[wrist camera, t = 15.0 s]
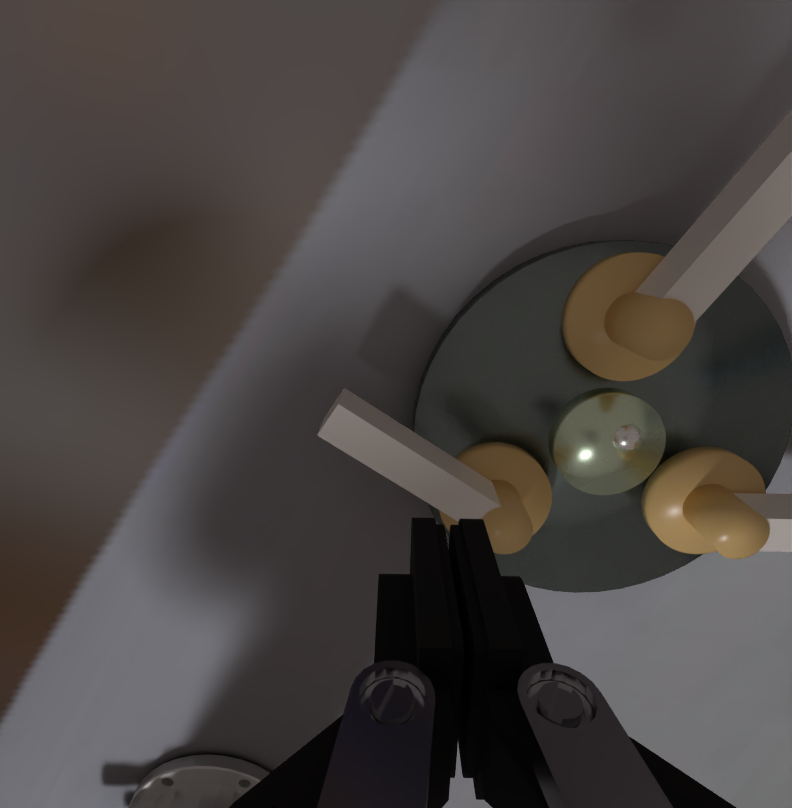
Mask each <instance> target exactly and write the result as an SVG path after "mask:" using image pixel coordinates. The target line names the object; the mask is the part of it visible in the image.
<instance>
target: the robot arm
mask: <svg viewBox="0 0 792 808" xmlns="http://www.w3.org/2000/svg"><path fill="white" fill-rule="evenodd" d="M458 743H459V751H460V759H461V767H462V774H463V777H464V778H473V781H474V788H475V795H476V799H479V800H485V801H486V802H487V803H488V804H489V805H490V806H491V807H493V808H736V807H734V806H733V805H731V804H730V803H728V802H727V801H725V800H724V799H722V798H721V797H719V796H718V795H716V794H715V793H713V792H712V791H710V790H709V789H707V788H706V787H704V786H703V785H701V784H700V783H698V782H697V781H695V780H694V779H692V778H691V777H689V776H688V775H686V774H685V773H683V772H682V771H680V770H679V769H677V768H676V767H674V766H673V765H671V764H670V763H668V762H667V761H665V760H664V759H662V758H661V757H659V756H658V755H656V754H655V753H653V752H652V751H650V750H649V749H647V748H646V747H644V746H643V745H641V744H640V743H638V742H637V741H635V740H634V739H632V738H631V737H629V736H628V735H627V733H626V732H625V730H624V728H623V727H622V725H621V724H620V722H619V720H618V719H617V717H616V716H615V714H614V712H613V711H612V709H611V708H610V706H609V704H608V703H607V701H606V700H605V698H604V696H603V695H602V693H601V692H600V691H599V689H598V688H597V687H596V686H595V684H594V683H593V682H592V681H591V680H589V679H588V678H587V677H586V676H584V675H583V674H582V673H580V672H578V671H576V670H574V669H572V668H570V667H568V666H564V665H560V664H556V663H553V660H552V658H551V655H550V652H549V650H548V647H547V644H546V642H545V639H544V636H543V633H542V631H541V628H540V625H539V623H538V620H537V617H536V615H535V612H534V609H533V607H532V604H531V601H530V599H529V596H528V593H527V591H526V588H525V585H524V583H523V580H522V578H521V577H519V576H501V574H500V571H499V568H498V565H497V561H496V558H495V555H494V552H493V549H492V545H491V542H490V539H489V536H488V533H487V529H486V526H485V523H484V520H483V519H459V522H458V525H450V535H449V551H448V545H447V539H446V533H445V527H444V524H436V521H435V518H412V526H411V557H410V574H379V582H378V601H377V620H376V638H375V657H374V664H373V665H371V666H369V667H367V668H365V669H364V670H363V671H362V672H361V673H360V674H359V675H358V676H357V677H356V678H355V680H354V682H353V684H352V686H351V689H350V692H349V696H348V699H347V703H346V707H345V710H344V714H343V715H342V716H341V717H340V718H338V719H337V720H336V721H335V722H333V723H332V724H331V725H330V726H328V727H327V728H326V729H325V730H323V731H322V732H321V733H320V734H318V735H317V736H316V737H315V738H313V739H312V740H311V741H310V742H308V743H307V744H306V745H305V746H303V747H302V748H301V749H300V750H298V751H297V752H296V753H295V754H293V755H292V756H291V757H290V758H288V759H287V760H286V761H285V762H283V763H282V764H281V765H280V766H278V767H277V768H276V769H275V770H274V771H272V772H271V773H270V772H268V771H266V770H264V769H263V768H261V767H259V766H257V765H255V764H252V763H250V762H247V761H244V760H242V759H237V758H233V757H228V756H222V755H210V754H207V755H192V756H186V757H181V758H177V759H174V760H172V761H169V762H166V763H164V764H162V765H160V766H159V767H157V768H155V769H154V770H152V771H151V772H150V773H149V774H148V775H147V776H146V777H144V778H143V779H142V781H141V783H140V784H139V786H138V787H137V789H136V791H135V794H134V796H133V798H132V800H131V803H130V805H129V808H442V807H443V806H444V805H445V803H446V802H447V801H448V800H449V786H450V778H454V777H455V770H456V757H457V744H458Z"/></svg>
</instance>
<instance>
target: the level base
mask: <svg viewBox="0 0 792 808" xmlns="http://www.w3.org/2000/svg"><path fill="white" fill-rule="evenodd" d="M673 247H674V246H670V245H666V244H662V243H653V242H642V241H624V240H618V241H597V242H589V243H583V244H578V245H573V246H567V247H564V248H561V249H558V250H555V251H551V252H548V253H545V254H542V255H540V256H538V257H535V258H533V259H531V260H529V261H527V262H525V263H523V264H520V265H518V266H516V267H515V268H513V269H512V270H510V271H508V272H507V273H505V274H504V275H502V276H501V277H499V278H497V279H496V280H494V281H493V282H492V283H491V284H489V285H488V286H487V287H486V288H484V289H483V290H482V291H481V292H480V293H478V294H477V295H476V296H475V297H474V298H473V299H472V300H471V301H470V302H469V303H468V304H467V305H466V306H465V307H464V308H463V309H462V310H461V311H460V312H459V313H458V314H457V316H456V317H455V318H454V320H453V321H452V322H451V324H450V325H449V326H448V328H447V329H446V330H445V332H444V333H443V335H442V336H441V338H440V339H439V341H438V343H437V345H436V347H435V348H434V350H433V352H432V354H431V356H430V358H429V360H428V363H427V365H426V368H425V370H424V373H423V375H422V378H421V381H420V385H419V389H418V393H417V397H416V401H415V411H414V421H413V432H415V433H416V434H418V435H419V436H421V437H422V438H424V439H426V440H427V441H429V442H430V443H432V444H433V445H435V446H437V447H438V448H440V449H441V450H443V451H444V452H446V453H448V454H449V455H451V456H452V457H455V456H457V455H458V454H459V453H461V452H462V451H464V450H466V449H468V448H470V447H472V446H475V445H478V444H482V443H488V442H502V443H508V444H512V445H515V446H517V447H520V448H522V449H524V450H525V451H527V452H528V453H529V454H531V455H532V456H533V457H534V458H535V459H536V460H537V461H538V463H539V464H540V466H541V467H542V469H543V471H544V472H545V474H546V476H547V478H548V480H549V482H550V485H551V490H552V503H551V508H550V512H549V514H548V517H547V519H546V520H545V522H544V524H543V525H542V526H541V528H540V529H539V530H538V531H537V532H536V533H535V534H534V535H533V536H532V537H531V540H530V541H529V543H528V544H527V545H526V546H525V547H524V548H523V549H521V550H519V551H517V552H515V553H512V554H497V553H494V555H495V558H496V561H497V565H498V568H499V571H500V574H501V575H502V576H519V577H521V578H522V580H523V583H524V584H526V585H529V586H532V587H537V588H542V589H547V590H552V591H563V592H600V591H607V590H614V589H621V588H625V587H629V586H633V585H637V584H641V583H644V582H647V581H650V580H652V579H655V578H658V577H661V576H663V575H666V574H668V573H670V572H672V571H674V570H676V569H678V568H680V567H682V566H684V565H686V564H688V563H689V562H691V561H693V560H694V559H696V558H698V557H699V556H701V555H702V554H688V553H683V552H680V551H677V550H674V549H672V548H670V547H669V546H667V545H666V544H664V543H663V542H662V541H661V540H660V539H659V538H658V537H657V536H656V534H655V533H654V532H653V531H652V530H651V528H650V527H649V526H648V525H647V523H646V521H645V519H644V516H643V513H642V506H641V501H642V494H643V491H644V488H645V485H646V483H647V481H648V479H649V478H650V476H651V475H652V474H653V472H654V471H655V470H656V469H657V468H658V467H659V466H660V465H661V464H662V463H663V462H664V461H666V460H667V459H669V458H670V457H672V456H673V455H675V454H677V453H679V452H682V451H684V450H687V449H691V448H695V447H703V446H712V447H719V448H723V449H726V450H729V451H731V452H733V453H735V454H736V455H738V456H739V457H741V458H743V459H744V460H746V461H747V462H749V463H750V464H751V465H753V466H754V467H755V468H756V470H757V471H758V472H759V474H760V475H761V477H762V479H763V481H764V485H765V490H766V489H767V487H768V486H769V484H770V482H771V480H772V479H773V477H774V475H775V473H776V471H777V469H778V467H779V465H780V463H781V460H782V457H783V454H784V452H785V449H786V446H787V443H788V440H789V436H790V431H791V426H792V363H791V358H790V354H789V349H788V347H787V344H786V342H785V339H784V337H783V334H782V332H781V329H780V327H779V325H778V323H777V322H776V320H775V318H774V317H773V315H772V314H771V312H770V310H769V309H768V307H767V306H766V304H765V303H764V302H763V301H762V300H761V299H760V297H759V296H758V295H757V294H756V293H755V292H754V290H753V289H752V288H751V287H750V286H748V285H747V284H746V283H745V282H744V281H742V280H741V279H740V278H739V277H738V276H737V277H736V278H735V279H734V280H733V281H732V282H731V283H730V284H729V286H728V287H727V288H726V289H725V290H724V291H723V292H722V293H721V294H720V295H719V296H718V298H717V299H716V300H715V301H714V302H713V303H712V304H711V305H710V306H709V307H708V308H707V310H706V311H705V312H704V313H703V314H702V315H701V316H700V317H699V318H698V319H697V321H696V325H695V328H694V332H693V335H692V338H691V340H690V342H689V343H688V345H687V346H686V347H685V348H684V350H683V351H682V352H681V353H680V354H679V356H678V357H677V358H676V359H675V360H674V361H673V362H672V363H670V364H669V365H668V366H666V367H665V368H664V369H662V370H660V371H659V372H657V373H655V374H653V375H651V376H648V377H645V378H642V379H638V380H633V381H614V380H609V379H605V378H602V377H600V376H598V375H596V374H594V373H592V372H591V371H589V370H588V369H586V368H585V367H584V366H582V365H581V364H580V363H579V362H578V361H576V360H575V358H574V357H573V356H572V355H571V353H570V352H569V350H568V348H567V346H566V344H565V341H564V338H563V334H562V326H561V322H562V311H563V307H564V303H565V300H566V298H567V296H568V293H569V292H570V290H571V288H572V286H573V285H574V283H575V282H576V281H577V279H578V278H579V277H580V276H581V275H582V274H583V273H584V272H585V271H586V270H587V269H588V268H590V267H591V266H592V265H594V264H595V263H597V262H599V261H600V260H602V259H604V258H607V257H609V256H612V255H615V254H619V253H626V252H642V253H652V254H658V255H661V256H664V257H665V256H666V255H667V254H668V253H669V252H670V250H671V249H672V248H673ZM428 504H429V503H428ZM429 506H430V508H431V510H432V512H433V514H434V516H435V517H436V519H437V520H438V522H439V523H440V524H444V523H443V521H442V519H441V516H440V512H439V510H438V509H437V508H435V507H433V506H432V505H430V504H429ZM444 527H445V531H446V533H447V534H448V535H450V532H449V531H448V529H447V528H446V526H445V525H444Z"/></svg>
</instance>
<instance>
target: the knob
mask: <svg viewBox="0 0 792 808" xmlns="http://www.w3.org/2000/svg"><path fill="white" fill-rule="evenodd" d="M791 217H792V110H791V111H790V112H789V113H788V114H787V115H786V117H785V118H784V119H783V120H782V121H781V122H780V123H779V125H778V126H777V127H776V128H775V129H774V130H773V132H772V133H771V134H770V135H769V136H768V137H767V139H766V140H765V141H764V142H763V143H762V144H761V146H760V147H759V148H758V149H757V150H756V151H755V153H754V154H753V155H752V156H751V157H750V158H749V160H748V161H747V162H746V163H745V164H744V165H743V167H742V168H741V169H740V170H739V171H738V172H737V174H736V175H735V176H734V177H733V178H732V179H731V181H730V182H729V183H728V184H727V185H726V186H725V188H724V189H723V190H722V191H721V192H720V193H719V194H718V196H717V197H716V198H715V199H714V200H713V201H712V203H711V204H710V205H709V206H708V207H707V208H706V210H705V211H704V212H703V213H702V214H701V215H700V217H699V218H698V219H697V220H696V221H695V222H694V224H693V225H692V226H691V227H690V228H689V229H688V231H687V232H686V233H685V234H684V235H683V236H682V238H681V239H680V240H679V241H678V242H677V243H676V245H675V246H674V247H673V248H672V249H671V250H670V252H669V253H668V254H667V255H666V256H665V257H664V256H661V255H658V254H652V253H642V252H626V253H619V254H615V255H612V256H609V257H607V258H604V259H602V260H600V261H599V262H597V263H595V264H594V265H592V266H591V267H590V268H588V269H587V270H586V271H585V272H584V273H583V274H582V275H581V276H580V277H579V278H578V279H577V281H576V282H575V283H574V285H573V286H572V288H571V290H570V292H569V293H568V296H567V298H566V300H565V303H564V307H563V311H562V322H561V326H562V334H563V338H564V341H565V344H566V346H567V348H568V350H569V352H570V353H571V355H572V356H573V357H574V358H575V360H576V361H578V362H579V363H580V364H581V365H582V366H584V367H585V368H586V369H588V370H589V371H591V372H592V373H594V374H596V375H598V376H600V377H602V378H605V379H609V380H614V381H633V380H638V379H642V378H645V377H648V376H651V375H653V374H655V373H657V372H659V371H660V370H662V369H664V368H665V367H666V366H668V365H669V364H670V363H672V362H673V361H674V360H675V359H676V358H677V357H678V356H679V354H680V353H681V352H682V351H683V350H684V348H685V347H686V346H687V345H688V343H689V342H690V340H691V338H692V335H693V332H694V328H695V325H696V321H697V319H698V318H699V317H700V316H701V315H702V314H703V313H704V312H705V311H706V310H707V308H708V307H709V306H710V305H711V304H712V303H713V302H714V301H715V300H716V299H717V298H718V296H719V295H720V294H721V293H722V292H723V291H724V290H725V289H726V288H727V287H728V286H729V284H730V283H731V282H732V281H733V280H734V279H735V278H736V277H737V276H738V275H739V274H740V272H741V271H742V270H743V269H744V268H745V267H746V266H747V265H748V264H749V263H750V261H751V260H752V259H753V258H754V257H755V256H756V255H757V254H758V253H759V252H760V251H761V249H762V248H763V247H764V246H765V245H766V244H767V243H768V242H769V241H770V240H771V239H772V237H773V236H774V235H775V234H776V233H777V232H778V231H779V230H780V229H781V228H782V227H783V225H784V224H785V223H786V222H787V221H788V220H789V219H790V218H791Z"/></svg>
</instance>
